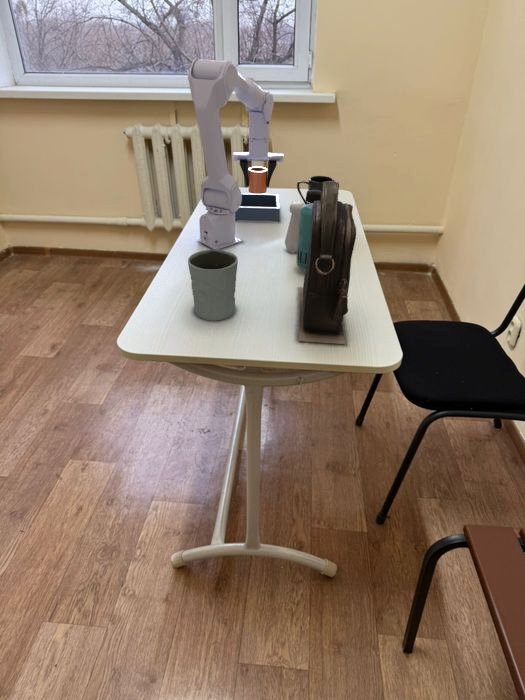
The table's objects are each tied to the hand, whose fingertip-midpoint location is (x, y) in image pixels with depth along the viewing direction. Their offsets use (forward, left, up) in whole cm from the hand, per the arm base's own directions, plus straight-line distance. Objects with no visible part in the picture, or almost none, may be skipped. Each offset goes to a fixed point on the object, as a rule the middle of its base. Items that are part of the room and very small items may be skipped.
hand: (257, 185), depth 143 cm
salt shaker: (-8, -25, -10) cm, 28 cm away
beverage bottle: (-14, -36, -10) cm, 40 cm away
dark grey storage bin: (+2, +3, -10) cm, 11 cm away
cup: (0, 0, -2) cm, 2 cm away
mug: (+21, -4, -10) cm, 24 cm away
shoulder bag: (-27, -53, -10) cm, 60 cm away
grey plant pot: (-44, -37, -10) cm, 58 cm away
